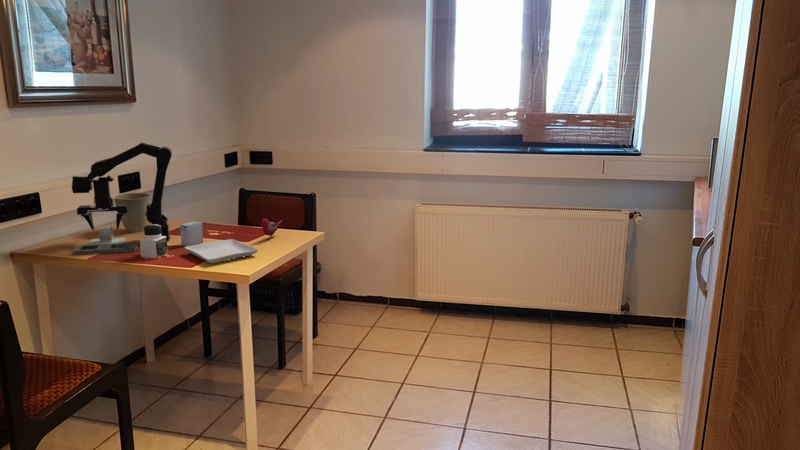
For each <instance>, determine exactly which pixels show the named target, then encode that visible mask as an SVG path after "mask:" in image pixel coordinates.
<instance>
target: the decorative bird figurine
mask: <svg viewBox="0 0 800 450" xmlns="http://www.w3.org/2000/svg"><path fill="white" fill-rule="evenodd" d="M282 222H283V219H282V220H279V222H277V223H276V222H274V221H269V220H268V219H267V218H262V219H261V221H260V226H261V228H262V232H263V233H264V235H266V236H269V237H268V238H267V239H266V240H268V241H269V240H271V239H272V238H273V235H274V234H275V233H276V231H278V228H279V226H280V225H281V223H282Z"/></svg>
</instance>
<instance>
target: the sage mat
mask: <svg viewBox="0 0 800 450" xmlns="http://www.w3.org/2000/svg"><path fill="white" fill-rule="evenodd" d="M126 240H127V237H114V240H113V242H112V243H100V238H92V239H91V240H89V243H87V245H94V244H115V243H126V242H125V241H126Z"/></svg>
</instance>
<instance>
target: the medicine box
mask: <svg viewBox="0 0 800 450" xmlns="http://www.w3.org/2000/svg"><path fill="white" fill-rule="evenodd" d="M179 228H180V229H179V230H180V242H181V243H180V244H181V245H182V246H184V247H187V246H193V245H198V244H203V243H204V231H203V222H199V221H191V222H187V223H183V224H180V226H179Z"/></svg>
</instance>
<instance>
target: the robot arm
mask: <svg viewBox="0 0 800 450" xmlns="http://www.w3.org/2000/svg"><path fill="white" fill-rule="evenodd" d="M142 154H145V155H147V156H150V157H153V158H155V159H156V173H155V180H154V187H153V193H152V200H151V202H150V204H149V203H148V204H147V212H146V214H145V216H146V215H147V222H148V223H149V224H156V225H160V226H161V236H166V237H167V242H168V241H170V239H171V236H170V227H169V224H168V221H169V218H168V217H167V216H166V215H164V214H163V204H162V201H163V194H164V189H165V188H164V187H165V182H166V175H167V170H168V167H169V164H170V161H171V158H172V156H173V152H172V150H171V148H169V147H168V146H161V147H160V146H156V145H153V144H149V143H146V142H140V143H139V144H137V145H135V146H132V147H130V148H129V149H127V150H125V151H123V152H120V153H118V154H117V155H115V156H111V157H109V158H108V157H107V158H104V159H101V160H98V161H95V162H94V163H92V165H91V166H90V172H89V173H88V174H87V176H79V175H74V176H73V175H72V178H71V179H72V180H71V191H72V193H73V194H89V193H90V192H91V191H93V195H94V196H93V203H94V206H91V205H89V204H88V205H87V204H86V205H84V204H83V205H79V206H78V207H77V208H76V215H79V216H80V217H83V218H84V220H86V222H87V224H88V225H89V227H90V228H91V230H92V231H95V226H94V225H95V224H94V221H93V215H92V214H93V213H94V212H98V213H100V212H102V213H103V212H117V213H116V214H115V217H116V218H115V219H116V222H115V223H116V230H119V228H120V225H121V222H122V221H121V218H122V215H125V213H128V212H129V210H130V209H129V205H128V204H119V205H118V206H117V207H116V206H114V197H111V192H110V182H114V181H115V178H113V177H112V176H111V175H110V174H108V173H109V172H111V171H112V170H114V169H115V168H116V167H117V166H119V165H121V164H123V163H126V162H127V161H130V160H132V159H133V158H134V159H135V157H137V156H140V155H142ZM107 174H108V175H107ZM105 175H107V176H105ZM103 176H104V177H103ZM97 177H98V179H95V178H97Z"/></svg>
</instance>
